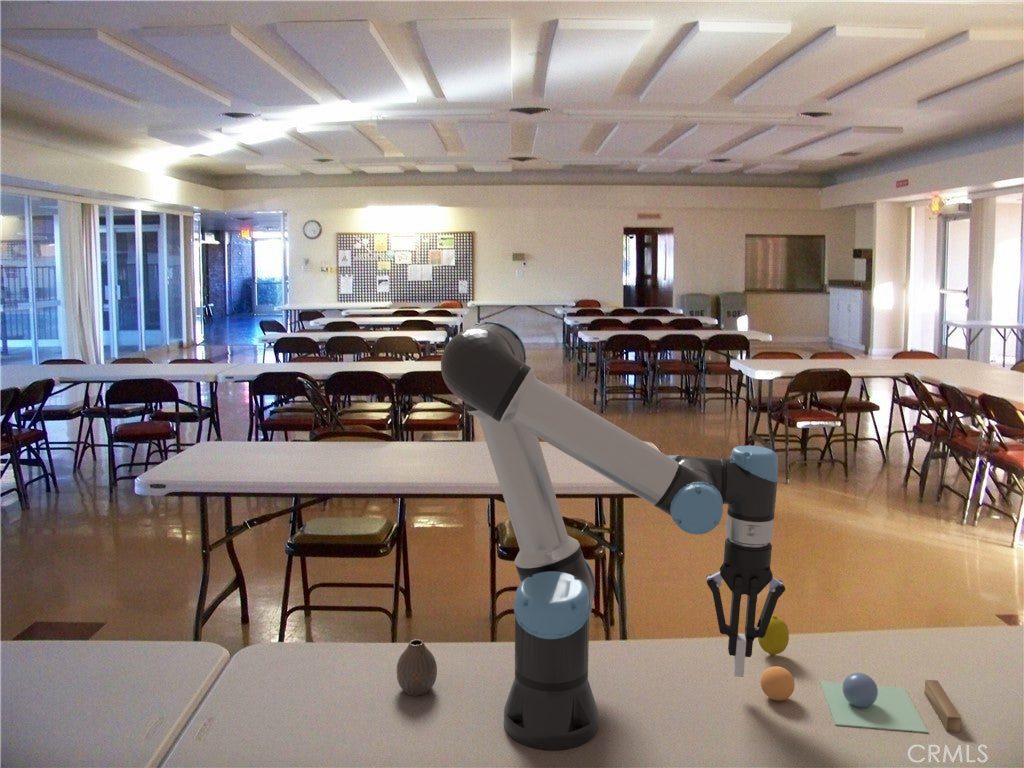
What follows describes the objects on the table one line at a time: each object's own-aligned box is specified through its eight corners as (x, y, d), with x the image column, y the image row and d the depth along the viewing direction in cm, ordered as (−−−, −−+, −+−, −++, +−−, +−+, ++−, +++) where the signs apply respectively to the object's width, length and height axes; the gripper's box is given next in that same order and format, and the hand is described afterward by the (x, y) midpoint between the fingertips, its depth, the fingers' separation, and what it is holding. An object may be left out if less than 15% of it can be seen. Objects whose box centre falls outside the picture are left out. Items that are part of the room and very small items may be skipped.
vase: (411, 704, 148) (410, 655, 147) (389, 688, 154) (388, 641, 152) (445, 691, 153) (444, 643, 151) (422, 676, 158) (421, 629, 156)
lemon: (789, 664, 162) (791, 622, 161) (757, 661, 164) (759, 620, 162) (786, 650, 168) (788, 610, 166) (755, 647, 169) (757, 608, 168)
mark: (835, 725, 142) (835, 724, 142) (819, 682, 156) (819, 681, 156) (928, 732, 140) (928, 731, 140) (904, 688, 154) (904, 687, 154)
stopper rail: (946, 731, 140) (947, 716, 140) (924, 693, 152) (925, 679, 152) (959, 732, 140) (961, 717, 140) (936, 694, 152) (937, 680, 151)
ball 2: (878, 680, 144) (884, 711, 145) (870, 664, 150) (876, 694, 150) (843, 685, 145) (849, 716, 146) (836, 669, 151) (842, 699, 151)
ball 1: (794, 674, 146) (799, 705, 147) (789, 659, 152) (793, 689, 152) (760, 677, 147) (765, 708, 148) (756, 662, 153) (761, 692, 153)
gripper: (709, 544, 144) (700, 679, 148) (792, 551, 142) (780, 688, 146) (707, 529, 151) (698, 658, 155) (786, 535, 149) (774, 666, 153)
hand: (738, 672), depth 151 cm, fingers closed
